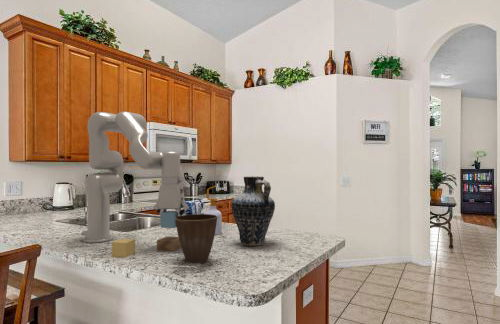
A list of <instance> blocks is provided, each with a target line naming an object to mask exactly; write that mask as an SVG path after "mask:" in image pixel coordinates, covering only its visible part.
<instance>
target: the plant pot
mask: <svg viewBox="0 0 500 324" xmlns="http://www.w3.org/2000/svg"><path fill="white" fill-rule="evenodd" d="M175 220H176V232H177V237H179V241H180V244H181V248H182V251H183V253H182V254H183V256H184V259H185V261H186V262H187V263H191V264H199V265H201V264H205V263H207V262H208V260H209V257H210V254H211V252H212V251H211V250H212V247H213V243H214V240H215V237H216V235H215V230H216V223H217V216H216V215H210V214H205V213H197V214H196V213H195V214H183V215H182V216H178V217H176V218H175Z"/></svg>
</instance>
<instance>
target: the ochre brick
mask: <svg viewBox="0 0 500 324" xmlns="http://www.w3.org/2000/svg"><path fill="white" fill-rule="evenodd" d="M135 254H136V239H131V238H120V239H119V238H118V239H117V240H115V241H114V240H113V241H111V257H113V258H114V257H115V258H127V257H130V256H132V255H135Z"/></svg>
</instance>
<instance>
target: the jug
mask: <svg viewBox="0 0 500 324" xmlns="http://www.w3.org/2000/svg"><path fill="white" fill-rule="evenodd" d="M243 182H244V189H243V191H242V192H241V193H240V194H238V195H237V196H235V197H234V198H233V199H232V200H231V202H230V209H231V213H232V216H233V219H234V221H235V225H236V226H237V230H238V232H239V233H238V235H239V241H240V243H241V244H242V245H245V246H262V245H264V244H265V240H266V235H267V232H268V230H269V227H270V224H271V221H272V219H273V216H274V213H275V210H276V208H275V207H276V203H275V201H274V199H273V198H272V197H270V194H271V192H272V191H271V190H272V186H271V183H270V181H267V180H266V179H265V176H253V175H251V176H243ZM263 185H264V187H263Z"/></svg>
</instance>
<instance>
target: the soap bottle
mask: <svg viewBox="0 0 500 324" xmlns="http://www.w3.org/2000/svg"><path fill="white" fill-rule="evenodd" d="M216 187H217V186H216V185H214V186H210V187H209V188H207V189H206V198H207V200H208V201H210V204H209V209H208V210H206V211H205V212H204V214H210V215H216V216H217V223H216V230H215V236H217V235H218V236H219V235H221V234H222V233H223V232H222V231H223V228H222V227H223V226H222V225H223V223H222V221H223V216H222V212H221V211H220V210H218V209H217V204H215V203H216V201H218V200H219V199H218V198H210V197H209V196H210V195H209V194H210V192H209V191H210V189H214V188H216Z"/></svg>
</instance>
